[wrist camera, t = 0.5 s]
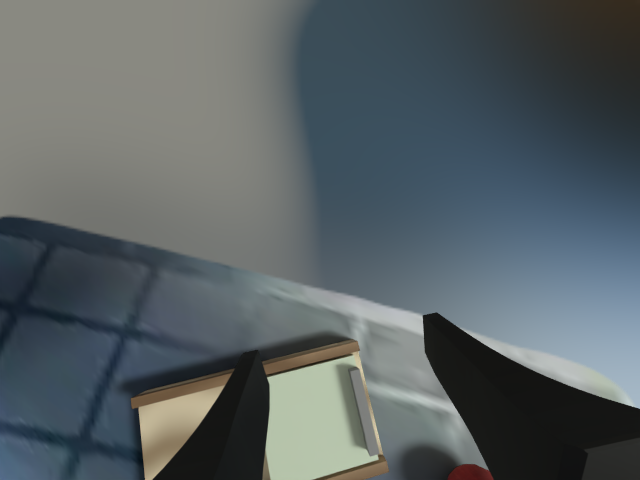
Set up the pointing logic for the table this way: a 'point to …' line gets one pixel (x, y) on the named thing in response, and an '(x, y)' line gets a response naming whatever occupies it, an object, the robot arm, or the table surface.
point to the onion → (470, 473)
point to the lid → (318, 421)
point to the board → (200, 394)
